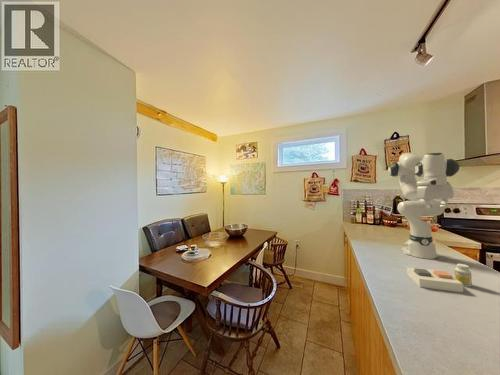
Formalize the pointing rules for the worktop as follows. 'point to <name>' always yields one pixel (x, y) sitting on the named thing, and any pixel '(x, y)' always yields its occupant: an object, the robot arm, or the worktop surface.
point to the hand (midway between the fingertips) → (436, 207)
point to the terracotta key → (442, 274)
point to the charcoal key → (422, 272)
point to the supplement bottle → (463, 275)
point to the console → (435, 281)
